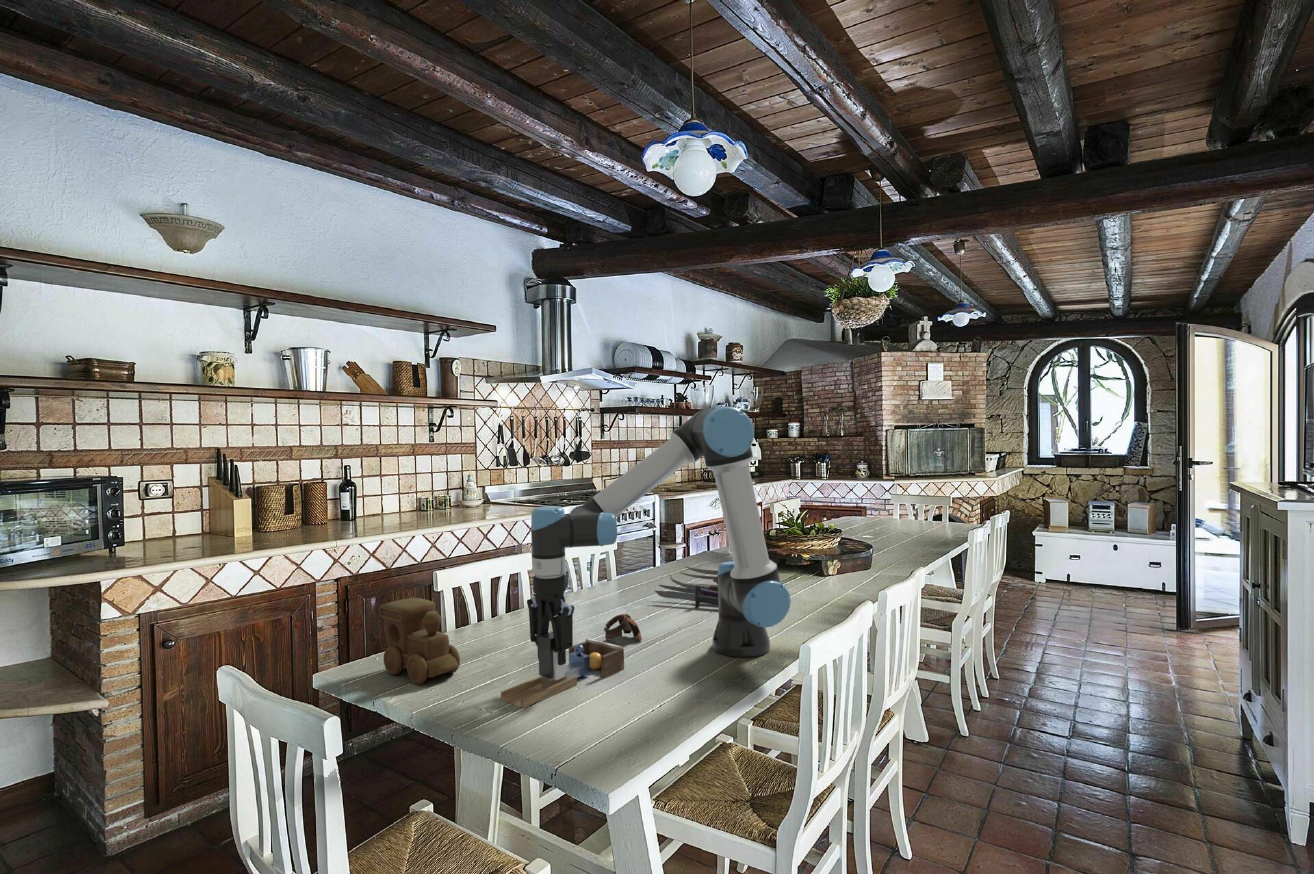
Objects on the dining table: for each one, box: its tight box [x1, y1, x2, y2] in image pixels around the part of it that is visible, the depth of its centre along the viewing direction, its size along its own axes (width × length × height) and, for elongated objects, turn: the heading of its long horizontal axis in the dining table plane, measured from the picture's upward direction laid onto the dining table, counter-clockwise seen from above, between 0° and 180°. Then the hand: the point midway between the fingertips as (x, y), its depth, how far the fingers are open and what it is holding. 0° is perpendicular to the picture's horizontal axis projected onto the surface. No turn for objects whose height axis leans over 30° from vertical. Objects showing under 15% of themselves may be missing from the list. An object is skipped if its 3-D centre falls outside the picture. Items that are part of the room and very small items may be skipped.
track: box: [500, 675, 578, 709], centre depth 155 cm, size 7×16×2 cm, turn 142°
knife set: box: [653, 565, 718, 609], centre depth 239 cm, size 35×33×8 cm
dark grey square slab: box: [538, 631, 591, 688], centre depth 161 cm, size 5×12×12 cm, turn 142°
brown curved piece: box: [603, 613, 643, 643], centre depth 192 cm, size 12×10×8 cm
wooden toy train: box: [378, 597, 461, 686], centre depth 169 cm, size 20×11×17 cm, turn 52°
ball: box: [589, 652, 602, 670], centre depth 169 cm, size 4×4×4 cm
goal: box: [568, 637, 625, 679], centre depth 170 cm, size 12×7×6 cm, turn 52°
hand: (552, 675), depth 158 cm, fingers closed on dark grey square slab, 4 cm apart
